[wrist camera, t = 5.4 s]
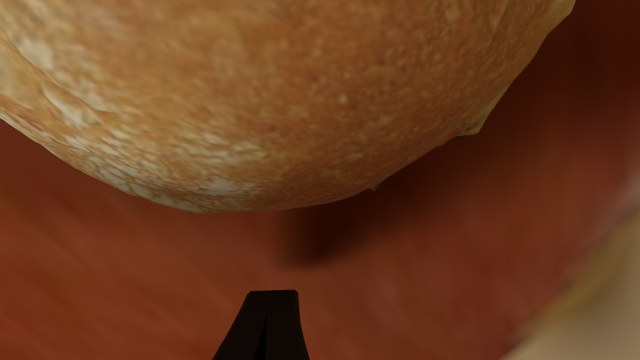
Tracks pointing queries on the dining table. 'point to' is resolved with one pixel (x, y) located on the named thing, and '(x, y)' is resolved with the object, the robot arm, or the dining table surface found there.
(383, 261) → the dining table surface
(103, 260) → the dining table surface
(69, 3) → the bread roll
